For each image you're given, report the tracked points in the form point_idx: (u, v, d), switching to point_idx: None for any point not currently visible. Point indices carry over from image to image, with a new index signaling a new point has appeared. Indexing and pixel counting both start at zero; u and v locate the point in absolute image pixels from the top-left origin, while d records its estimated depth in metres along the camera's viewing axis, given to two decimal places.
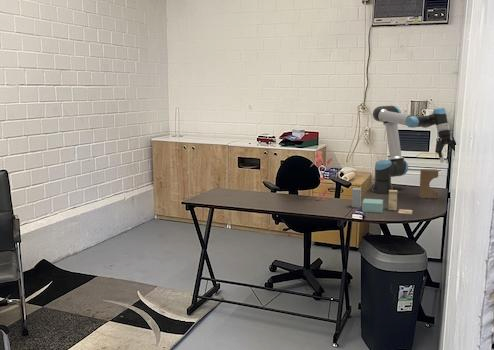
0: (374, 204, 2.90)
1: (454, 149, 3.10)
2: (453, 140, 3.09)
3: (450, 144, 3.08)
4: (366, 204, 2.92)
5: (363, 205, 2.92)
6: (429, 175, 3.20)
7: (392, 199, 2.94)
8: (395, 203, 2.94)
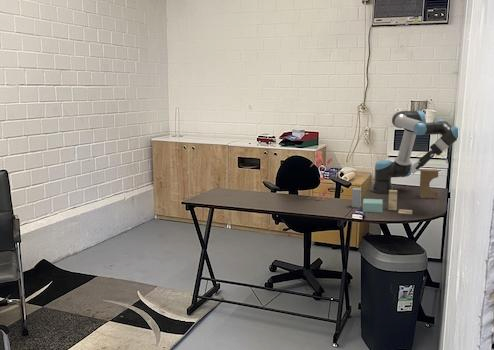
0: (375, 204, 2.90)
1: (421, 160, 2.92)
2: None
3: None
4: (367, 204, 2.91)
5: (364, 205, 2.92)
6: (429, 175, 3.20)
7: (392, 199, 2.94)
8: (395, 203, 2.94)
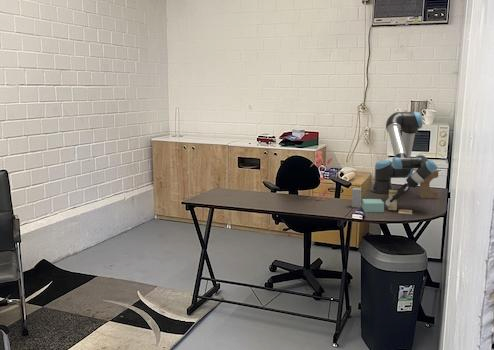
0: (376, 204, 2.90)
1: None
2: None
3: None
4: (368, 204, 2.90)
5: (365, 206, 2.91)
6: None
7: None
8: (395, 203, 2.94)
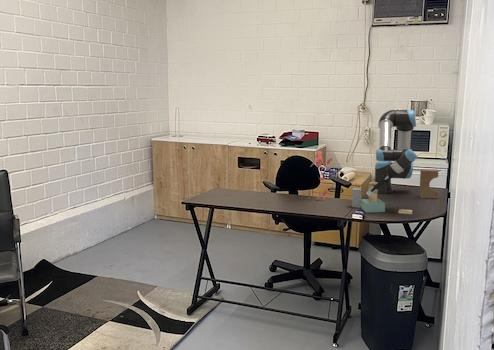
0: (378, 204, 2.90)
1: (378, 182, 2.98)
2: None
3: None
4: (370, 205, 2.90)
5: (367, 206, 2.90)
6: (429, 175, 3.20)
7: None
8: (375, 195, 2.92)
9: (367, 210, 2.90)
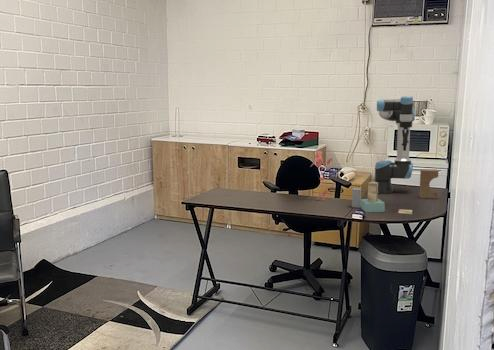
0: (377, 204, 2.90)
1: None
2: None
3: None
4: (370, 205, 2.90)
5: (367, 206, 2.90)
6: (429, 175, 3.20)
7: (371, 191, 2.93)
8: (374, 195, 2.92)
9: (367, 210, 2.91)
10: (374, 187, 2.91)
